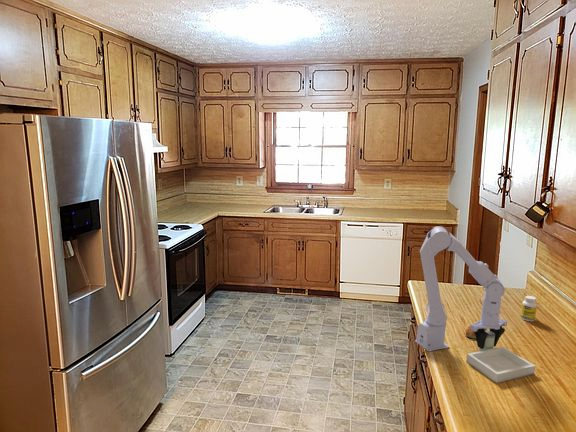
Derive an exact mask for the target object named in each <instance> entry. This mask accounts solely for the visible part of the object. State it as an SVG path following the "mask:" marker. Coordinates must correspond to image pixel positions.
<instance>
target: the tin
mask: <svg viewBox="0 0 576 432" xmlns="http://www.w3.org/2000/svg"><path fill="white" fill-rule="evenodd" d="M485 332H486V333H488V335H487V337H486V340H485V344H484V348H483V349H481V348H479V347H478V352H479V351H484V350H489V349H494V338H495V334H494V333H493V332H491V331H490V330H487V331H486V330H485Z"/></svg>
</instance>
